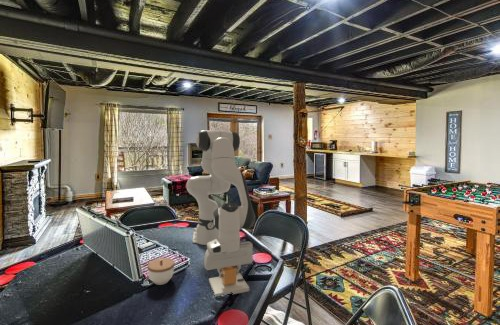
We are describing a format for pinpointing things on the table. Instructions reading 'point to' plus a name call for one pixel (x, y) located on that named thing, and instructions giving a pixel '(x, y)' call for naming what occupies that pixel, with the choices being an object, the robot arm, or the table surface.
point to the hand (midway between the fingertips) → (228, 275)
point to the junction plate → (228, 286)
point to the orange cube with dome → (229, 275)
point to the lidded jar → (161, 270)
